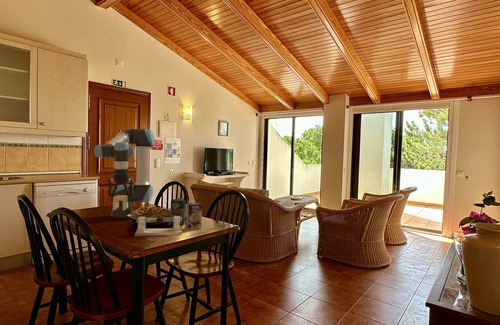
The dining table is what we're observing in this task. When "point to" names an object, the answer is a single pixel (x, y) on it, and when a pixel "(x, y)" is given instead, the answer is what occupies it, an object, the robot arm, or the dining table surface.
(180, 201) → the canister
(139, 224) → the shaft rig
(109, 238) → the dining table surface
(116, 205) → the block
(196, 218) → the coffee box
